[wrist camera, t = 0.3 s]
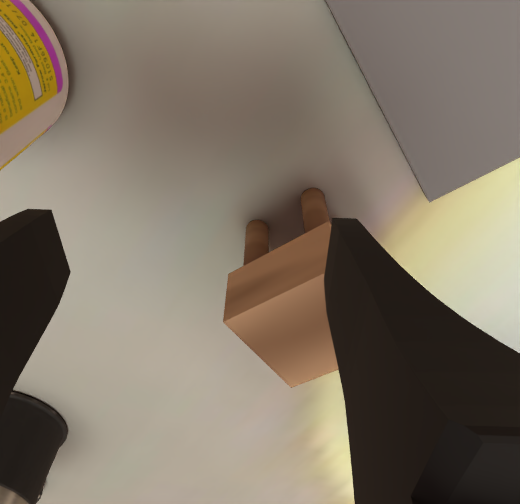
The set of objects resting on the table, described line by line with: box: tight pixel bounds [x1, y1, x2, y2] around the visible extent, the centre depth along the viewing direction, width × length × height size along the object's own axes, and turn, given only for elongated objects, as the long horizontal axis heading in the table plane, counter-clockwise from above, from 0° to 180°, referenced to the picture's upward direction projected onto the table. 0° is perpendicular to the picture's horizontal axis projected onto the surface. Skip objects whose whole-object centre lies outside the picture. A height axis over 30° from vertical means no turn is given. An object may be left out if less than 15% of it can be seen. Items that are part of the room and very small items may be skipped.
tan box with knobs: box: [223, 188, 338, 388], centre depth 21 cm, size 5×5×7 cm
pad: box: [326, 0, 520, 202], centre depth 17 cm, size 11×11×1 cm
